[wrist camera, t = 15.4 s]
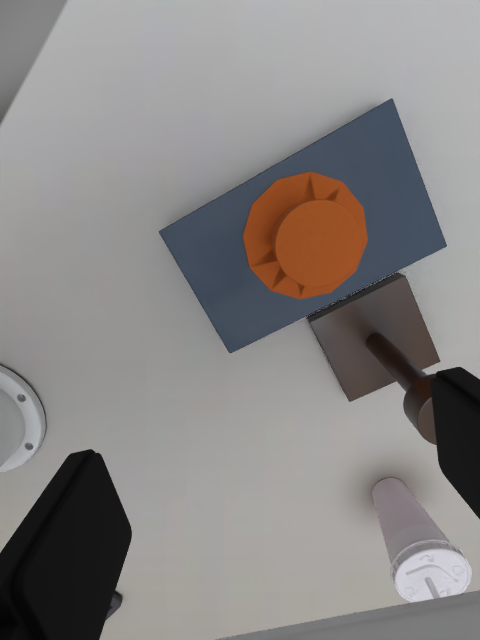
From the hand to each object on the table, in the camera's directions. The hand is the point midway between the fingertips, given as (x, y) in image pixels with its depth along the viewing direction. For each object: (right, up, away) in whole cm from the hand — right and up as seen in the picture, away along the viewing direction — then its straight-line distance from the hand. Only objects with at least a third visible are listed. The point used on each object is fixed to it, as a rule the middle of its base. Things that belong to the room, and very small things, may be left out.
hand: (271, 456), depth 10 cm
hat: (+4, +10, +19) cm, 22 cm away
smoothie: (+15, -15, +29) cm, 36 cm away
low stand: (+4, +11, +22) cm, 25 cm away
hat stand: (+11, +2, +24) cm, 27 cm away
